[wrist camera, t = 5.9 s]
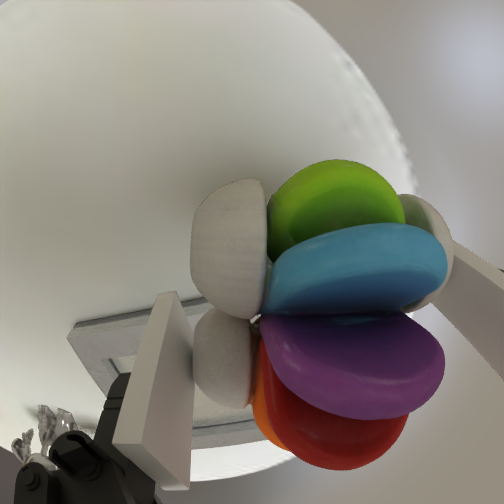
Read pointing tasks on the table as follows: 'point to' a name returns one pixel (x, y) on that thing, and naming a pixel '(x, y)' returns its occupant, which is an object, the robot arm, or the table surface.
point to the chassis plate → (122, 361)
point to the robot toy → (43, 436)
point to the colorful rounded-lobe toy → (320, 308)
